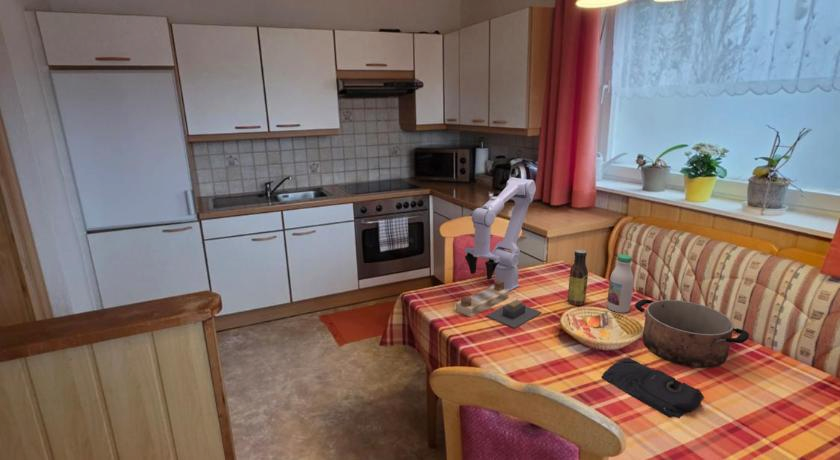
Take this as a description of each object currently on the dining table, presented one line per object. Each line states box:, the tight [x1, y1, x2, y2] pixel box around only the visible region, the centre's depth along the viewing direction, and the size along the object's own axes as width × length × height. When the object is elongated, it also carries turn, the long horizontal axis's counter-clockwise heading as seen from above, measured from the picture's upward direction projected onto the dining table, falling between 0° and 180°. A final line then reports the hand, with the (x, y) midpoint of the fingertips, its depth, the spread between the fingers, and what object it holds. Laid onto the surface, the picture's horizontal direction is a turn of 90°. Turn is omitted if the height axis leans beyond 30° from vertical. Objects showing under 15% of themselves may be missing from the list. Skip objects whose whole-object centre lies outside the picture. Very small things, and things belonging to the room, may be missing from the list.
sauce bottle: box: [567, 249, 589, 306], centre depth 165 cm, size 7×6×20 cm
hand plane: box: [455, 280, 510, 318], centre depth 166 cm, size 22×7×6 cm, turn 133°
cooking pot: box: [634, 298, 750, 369], centre depth 136 cm, size 30×22×11 cm
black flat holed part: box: [600, 357, 705, 419], centre depth 118 cm, size 15×22×5 cm
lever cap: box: [502, 299, 527, 319], centre depth 157 cm, size 7×4×4 cm, turn 134°
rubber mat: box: [485, 303, 542, 330], centre depth 158 cm, size 16×12×1 cm
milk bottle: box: [606, 253, 634, 314], centre depth 160 cm, size 8×8×20 cm
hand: (481, 275), depth 168 cm, fingers open, 7 cm apart
